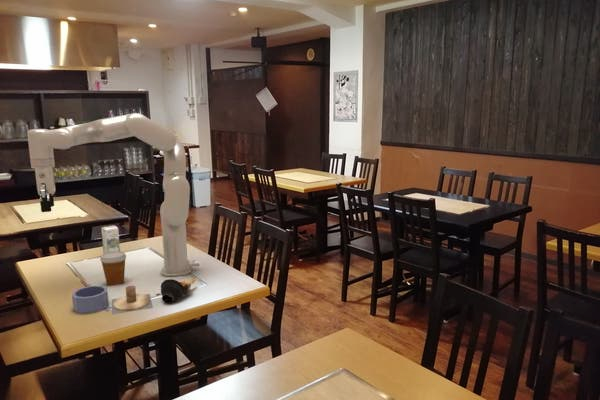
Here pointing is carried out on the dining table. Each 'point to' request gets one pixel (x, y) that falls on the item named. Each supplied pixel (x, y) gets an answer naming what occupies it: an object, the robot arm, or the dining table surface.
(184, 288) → the black dish with food
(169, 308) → the dining table surface
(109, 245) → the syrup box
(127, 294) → the lid
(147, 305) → the mat
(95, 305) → the bowl
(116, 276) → the disposable coffee cup
